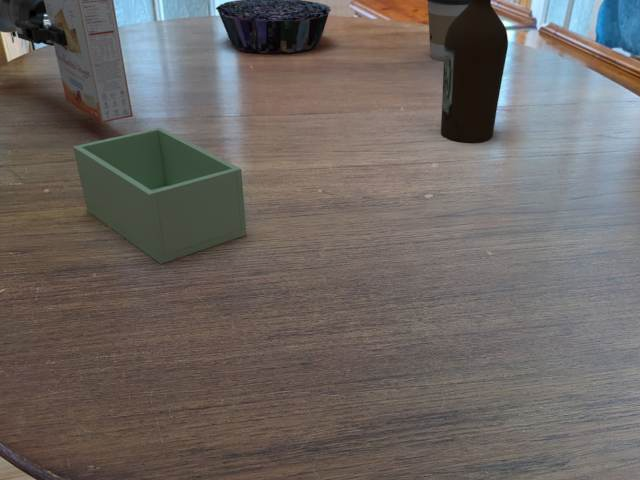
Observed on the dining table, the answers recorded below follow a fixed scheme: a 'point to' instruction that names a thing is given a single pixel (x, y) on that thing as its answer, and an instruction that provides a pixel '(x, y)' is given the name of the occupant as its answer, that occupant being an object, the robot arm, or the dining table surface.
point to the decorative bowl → (274, 24)
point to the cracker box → (91, 57)
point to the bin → (162, 192)
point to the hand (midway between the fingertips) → (84, 36)
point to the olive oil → (473, 73)
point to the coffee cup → (442, 22)
